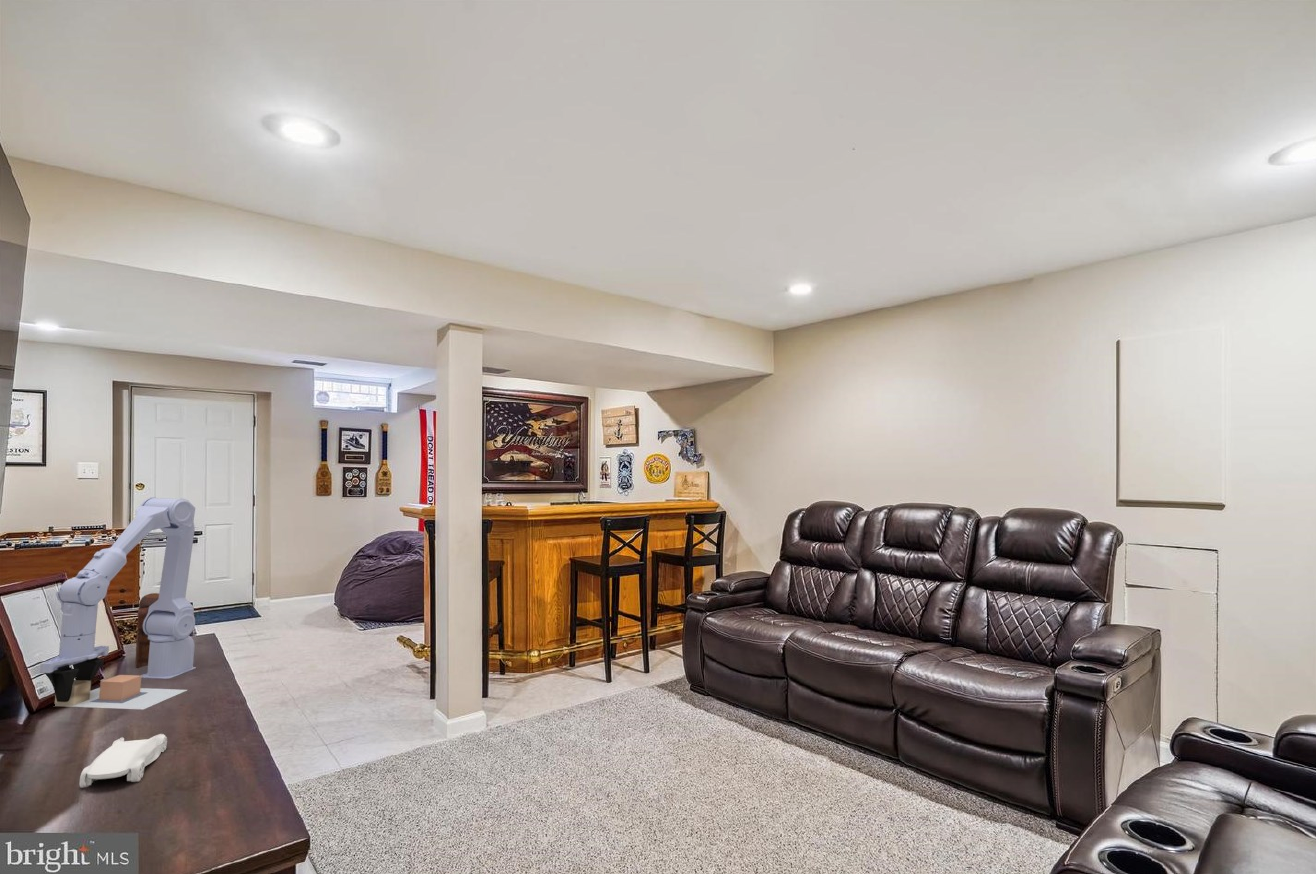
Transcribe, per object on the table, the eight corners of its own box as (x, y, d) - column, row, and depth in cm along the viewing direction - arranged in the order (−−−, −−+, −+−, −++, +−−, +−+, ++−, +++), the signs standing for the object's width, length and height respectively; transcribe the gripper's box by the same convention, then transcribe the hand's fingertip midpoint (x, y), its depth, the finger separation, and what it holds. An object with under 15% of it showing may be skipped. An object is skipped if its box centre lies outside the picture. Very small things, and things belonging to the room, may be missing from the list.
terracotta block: (118, 692, 149) (119, 674, 149) (140, 693, 149) (141, 675, 149) (99, 700, 144) (100, 681, 144) (121, 701, 144) (123, 682, 144)
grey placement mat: (102, 688, 153) (102, 686, 153) (187, 692, 153) (187, 689, 153) (49, 708, 140) (50, 705, 140) (143, 711, 140) (143, 708, 140)
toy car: (117, 752, 121) (119, 727, 121) (168, 747, 123) (170, 722, 124) (71, 798, 104) (74, 768, 104) (132, 791, 107) (135, 762, 107)
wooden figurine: (163, 666, 172) (169, 596, 173) (132, 669, 168) (138, 598, 169) (164, 655, 181) (169, 589, 182) (134, 658, 177) (140, 590, 179)
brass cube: (71, 698, 145) (73, 680, 145) (89, 699, 144) (91, 680, 145) (54, 705, 141) (56, 685, 141) (73, 705, 140) (74, 686, 141)
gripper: (66, 642, 136) (60, 710, 135) (123, 627, 151) (118, 688, 150) (32, 641, 136) (26, 708, 135) (93, 625, 151) (87, 686, 150)
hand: (72, 697), depth 143 cm, fingers closed on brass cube, 4 cm apart
